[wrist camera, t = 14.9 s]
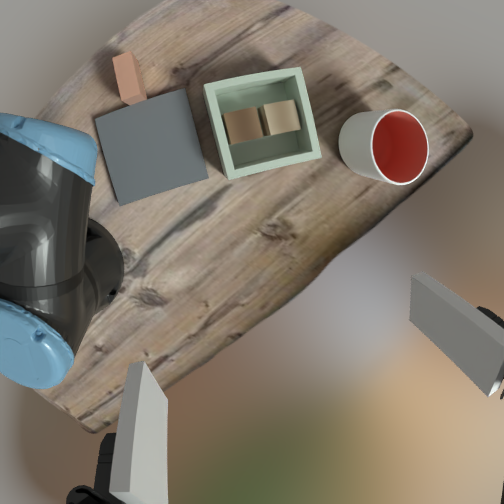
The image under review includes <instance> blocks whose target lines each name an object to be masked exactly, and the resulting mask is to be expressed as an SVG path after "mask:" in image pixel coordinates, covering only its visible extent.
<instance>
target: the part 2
mask: <svg viewBox="0 0 504 504" xmlns="http://www.w3.org/2000/svg"><path fill="white" fill-rule="evenodd" d="M257 110H258V114H259V118H260V122H261V126H262V130H263V134H264V136H270V135H275V134H280V133H285V132H290V131H295V130H300V129H301V127H300V123H299V118H298V114H297V110H296V106H295V101H294V99H293V100H287V101H281V102H276V103H270V104H265V105H262V106H260V107H259V108H257Z"/></svg>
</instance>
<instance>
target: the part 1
mask: <svg viewBox="0 0 504 504" xmlns="http://www.w3.org/2000/svg"><path fill="white" fill-rule="evenodd" d="M221 118H222V122H223V126H224V130H225V134H226V138H227V142H228V145H232V144H236V143H240V142H244V141H248V140H253V139H257V138H261V137H263V134H262V130H261V126H260V122H259V118H258V114H257V110H256V106H255V107H250V108H246V109H241V110H237V111H232V112H228V113H224V114H223V115H222V116H221Z"/></svg>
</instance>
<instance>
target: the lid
mask: <svg viewBox="0 0 504 504" xmlns="http://www.w3.org/2000/svg"><path fill="white" fill-rule="evenodd" d="M112 60H113V65H114V70H115V74H116V79H117V83H118V88H119V92H120V97H121V101H123V102H125V103H126V104H128V105H130V106H127V107H124V108H121V109H119V110H116V111H114V112H111V113H108V114H106V115H103V116H101V117H99V118H96V119H95V122H96V126H97V130H98V134H99V138H100V142H101V145H102V149H103V153H104V156H105V160H106V163H107V167H108V170H109V174H110V177H111V180H112V183H113V187H114V190H115V193H116V196H117V199H118V202H119V205H120V206H122V205H125V204H128V203H131V202H134V201H137V200H140V199H143V198H146V197H149V196H152V195H155V194H158V193H161V192H164V191H167V190H171V189H174V188H177V187H180V186H184V185H187V184H190V183H194V182H197V181H201V180H204V179H207V178H209V177H208V174H207V170H206V166H205V162H204V159H203V155H202V151H201V148H200V144H199V140H198V136H197V132H196V129H195V125H194V121H193V117H192V113H191V109H190V106H189V102H188V98H187V94H186V90H185V88H183V89H180V90H176V91H173V92H169V93H166V94H163V95H159V96H156V97H153V98H150V99H147V96H146V92H145V87H144V83H143V79H142V75H141V70H140V66H139V62H138V60H137V59H136V57H135V56H134V55H133V53H132V52H131V51H129V52H126V53H124V54H121V55H118V56H116V57H113V58H112Z"/></svg>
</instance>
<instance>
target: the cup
mask: <svg viewBox="0 0 504 504" xmlns="http://www.w3.org/2000/svg"><path fill="white" fill-rule="evenodd" d="M339 151H340V154H341V157H342V159H343V161H344V162H345V164H346V165H347V166H348V167H349V168H350V169H351V170H352V171H353V172H355V173H357V174H359V175H362V176H366V177H369V178H373V179H377V180H381V181H384V182H388V183H392V184H396V185H405V184H409V183H411V182H413V181H414V180H416V179H417V178H418V177H419V176H420V174H421V173H422V172H423V170H424V168H425V166H426V163H427V159H428V151H429V147H428V139H427V135H426V132H425V130H424V128H423V126H422V124H421V123H420V121H419V120H418V119H417V118H416V117H415V116H414V115H413V114H411V113H409V112H407V111H405V110H402V109H389V110H379V111H369V112H361V113H357V114H355V115H353V116H351V117H350V118H349V119H348V120H347V121H346V122H345V123H344V125H343V126H342V128H341V131H340V134H339Z"/></svg>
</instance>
